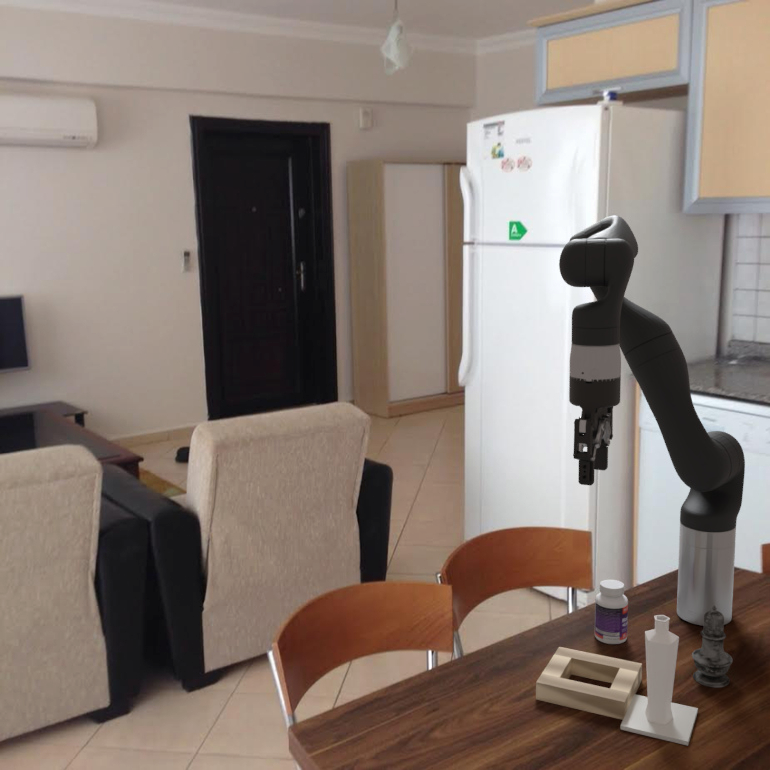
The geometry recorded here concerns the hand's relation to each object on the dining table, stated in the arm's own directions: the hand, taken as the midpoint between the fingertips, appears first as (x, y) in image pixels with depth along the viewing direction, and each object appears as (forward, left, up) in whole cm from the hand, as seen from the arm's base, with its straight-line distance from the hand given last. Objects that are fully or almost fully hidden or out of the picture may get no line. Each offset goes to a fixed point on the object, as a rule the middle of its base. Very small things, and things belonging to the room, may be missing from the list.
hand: (593, 476), depth 133 cm
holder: (+8, +2, -31) cm, 32 cm away
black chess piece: (-3, +18, -31) cm, 36 cm away
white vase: (+12, +13, -31) cm, 35 cm away
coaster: (+12, +13, -31) cm, 36 cm away
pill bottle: (-10, +1, -31) cm, 33 cm away
